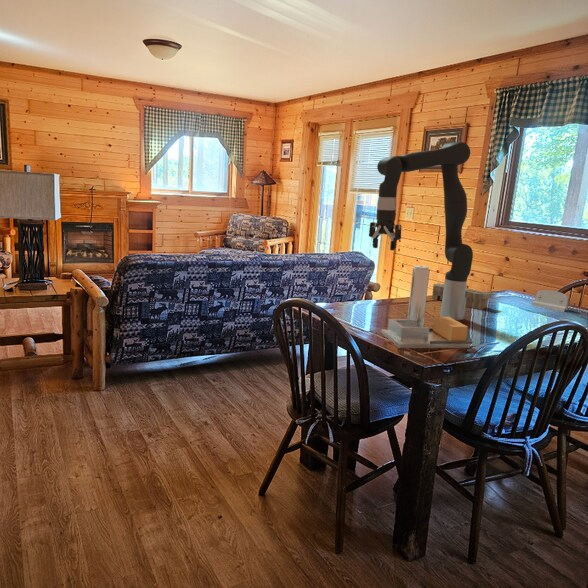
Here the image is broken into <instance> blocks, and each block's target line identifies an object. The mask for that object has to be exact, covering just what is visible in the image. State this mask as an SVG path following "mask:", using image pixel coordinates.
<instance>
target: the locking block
mask: <svg viewBox="0 0 588 588" xmlns="http://www.w3.org/2000/svg"><path fill="white" fill-rule="evenodd" d="M432 328H433V331H435V332H436V333H438V334H439V335H441V336H443V337H444V338H446V339H447V340H449V341H467V336H468V335H467V334H468V328H469V326H467V325H465V324H463V323H461V322H460V321H459V320H454V319H452V318H450V317H440V316H434V317H433V326H432Z"/></svg>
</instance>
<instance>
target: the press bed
mask: <svg viewBox="0 0 588 588" xmlns="http://www.w3.org/2000/svg"><path fill="white" fill-rule="evenodd" d="M416 324H417V320H416V319H408V318H389V319H388V324H387V325H388V326H387V329H385V328H384V329H382V328H381V329H380V334H381V333H382V334H383V335H382V334H381V335H382V336H383V337H385V338H386V337H387V338H388V339H389V340H388V339H387V338H386V339H387V340H388V341H390V342H391V341H392V342H393V343H394V346H396V347H397V346H398V347H399V349H470V348H471V344H473V340H466V341H449V340H447V339H446V338H444V337H443V336H441V335H439V334H438V333H436V332H435V331H433V327H429V326H423V327H416ZM392 342H391V343H392ZM393 343H392V344H393ZM398 347H397V348H398Z"/></svg>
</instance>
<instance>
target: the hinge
mask: <svg viewBox="0 0 588 588" xmlns="http://www.w3.org/2000/svg"><path fill="white" fill-rule="evenodd" d="M569 304H570V297H569V296H568V295H567V294H566V293H565V294H564V293H562V292H560V291H556V290H553V289H552V290H551V289H542V290H538V291H537V293H536V294H535V296H534V299H533V301H532V303H531V306H534V307H539V308H544V309H548V310H553V311H557V312H563V313H564V312H565V311H566V312H567V311H568V310H569V306H570V305H569Z"/></svg>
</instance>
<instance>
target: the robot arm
mask: <svg viewBox="0 0 588 588" xmlns="http://www.w3.org/2000/svg"><path fill="white" fill-rule="evenodd" d="M470 157H471V148H470V145H468V144H467V143H465V142H463V141H454V142H446V143H444V144H443V145H442V147H441V148H438V149H432V150H423V151H415V152H410V153H406V154H403V155H402V154H401V155H395V156H386V157H383V158H382V159H380V160H379V161H378V163H377V166H376V169H377V171H378V173H379V174H380V175H382V176H384V179H383V181H382V182H380V184H379V187H378V197H377V198H378V199H377V205H376V206H377V207H376V222H375V221H373V222H372V221H371V222H370V223H369V231H368V237H370V238H372V248H373V249H378V248H379V237H380V236H381V235H387V236H388V237H389V238H390V245H389V248H390V249H389V250H390V251H395V250H396V248H397V241H399V240H401V239H402V224H396V223H395V222H396V216H397V215H396V214H397V196H398V195H397V192H398V185H399V183H400V179H401V176H402V173H409V172H415V171H419V170H420V171H421V170H424V169H428V168H432V167H436V166H440V168H441V174H442V182H443V183H442V184H443V185H442V186H443V204H444V205H443V206H444V207H443V208H444V219H445V220H444V221H445V223H444V224H445V225H444V226H445V239H444V241H445V243H444V255H445V256H444V257H445V258H446V260H447V261H448V262H450V263H451V266H450V267H451V268H450V269H449V270H448V271H446V272H445V276H444V291H443V299H442V301H441V309H440V316H439V317H450V318H452V319H454V320H456V321H461V320H465V313H466V308H467V306H466V298H465V292H466V289H467V283H468V277H469V276H470V274H471V270H472V269H471V268H472V266H473V265H472V264H473V258H474V256H473V255H474V251H473V249H472V247H471V246H470V245H468V244H467V243H466V244H465V243H463V237H462V233H463V232H462V231H463V227H464V223H465V221H466V218H467V215H468V197H467V194H466V191H465V188H464V187H463V184H462V183H461V181H460V178H459V173H458V172H459V171H458V169H459V168H458V166H459V165H463V164H465V163H466V162H467V161H468V160H469V158H470Z"/></svg>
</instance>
